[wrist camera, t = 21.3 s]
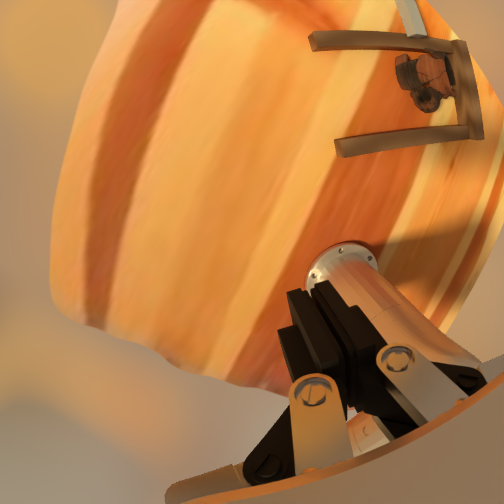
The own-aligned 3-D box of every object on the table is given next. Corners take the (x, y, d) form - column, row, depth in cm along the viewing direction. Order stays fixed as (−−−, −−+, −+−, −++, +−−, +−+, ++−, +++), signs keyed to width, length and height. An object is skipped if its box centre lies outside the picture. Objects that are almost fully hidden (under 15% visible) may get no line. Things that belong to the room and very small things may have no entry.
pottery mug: (391, 40, 32) (438, 34, 25) (415, 71, 38) (456, 69, 31) (391, 101, 33) (444, 98, 27) (415, 128, 39) (460, 130, 33)
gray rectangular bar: (418, 38, 29) (433, 33, 25) (407, 36, 29) (422, 31, 25) (397, -19, 24) (410, -27, 21) (385, -22, 24) (398, -30, 21)
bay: (467, 136, 39) (484, 139, 34) (337, 156, 38) (350, 159, 34) (449, 44, 31) (465, 41, 27) (307, 36, 31) (318, 26, 27)
